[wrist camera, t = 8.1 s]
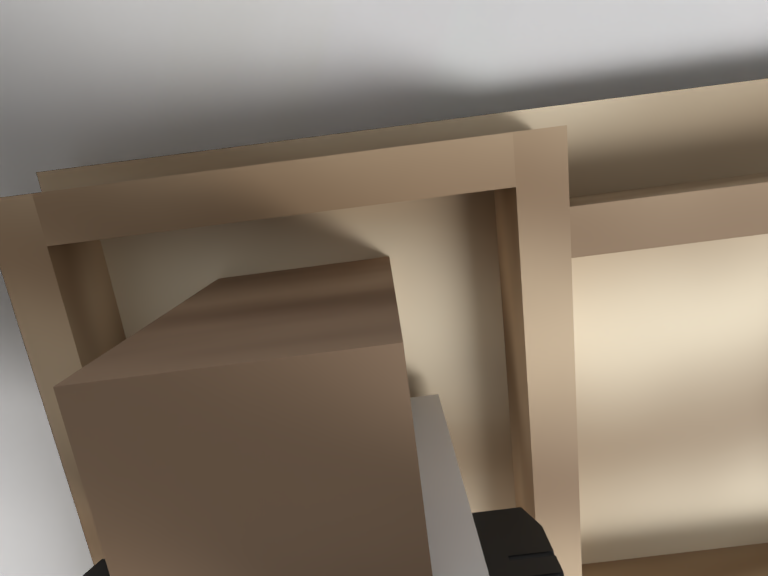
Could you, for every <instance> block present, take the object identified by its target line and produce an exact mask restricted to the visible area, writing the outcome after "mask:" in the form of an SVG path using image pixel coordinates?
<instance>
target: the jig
mask: <svg viewBox="0 0 768 576" xmlns="http://www.w3.org/2000/svg"><path fill="white" fill-rule="evenodd" d="M36 174H37V177H38V181H39V184H40V188H41V191H42V192H39V193H32V194H24V195H16V196H8V197H0V269H1V272H2V275H3V278H4V281H5V284H6V288H7V291H8V294H9V297H10V300H11V303H12V307H13V310H14V313H15V316H16V319H17V322H18V326H19V329H20V332H21V335H22V338H23V342H24V345H25V348H26V351H27V354H28V357H29V361H30V364H31V367H32V370H33V373H34V376H35V380H36V383H37V386H38V389H39V392H40V395H41V399H42V402H43V405H44V408H45V411H46V414H47V418H48V421H49V424H50V427H51V430H52V433H53V437H54V440H55V443H56V446H57V449H58V453H59V456H60V459H61V462H62V465H63V468H64V472H65V475H66V478H67V481H68V484H69V487H70V491H71V494H72V497H73V500H74V503H75V506H76V510H77V513H78V516H79V519H80V522H81V525H82V529H83V532H84V535H85V538H86V541H87V544H88V548H89V551H90V554H91V557H92V560H93V564H94V565H96V564H97V563H98V562H99V561H100V560H101V559H105V557H104V554H103V551H102V548H101V544H100V541H99V538H98V534H97V531H96V528H95V524H94V521H93V518H92V514H91V511H90V508H89V505H88V501H87V498H86V495H85V491H84V488H83V485H82V481H81V478H80V475H79V471H78V468H77V465H76V462H75V458H74V455H73V452H72V448H71V445H70V442H69V438H68V435H67V432H66V429H65V425H64V422H63V419H62V415H61V412H60V409H59V405H58V402H57V399H56V395H55V392H54V389H53V387H54V386H55V385H57V384H58V383H60V382H61V381H63V380H64V379H66V378H67V377H69V376H70V375H72V374H73V373H75V372H76V371H78V370H80V369H81V368H83V367H84V366H86V365H87V364H89V363H90V362H92V361H93V360H95V359H96V358H98V357H99V356H101V355H102V354H104V353H106V352H107V351H109V350H110V349H112V348H113V347H115V346H116V345H118V344H119V343H121V342H122V341H124V340H125V339H127V338H128V337H130V336H132V335H133V334H135V333H136V332H138V331H139V330H141V329H142V328H144V327H145V326H147V325H148V324H150V323H151V322H153V321H154V320H156V319H158V318H159V317H161V316H162V315H164V314H165V313H167V312H168V311H170V310H171V309H173V308H174V307H176V306H177V305H179V304H180V303H182V302H183V301H185V300H187V299H188V298H190V297H191V296H193V295H194V294H196V293H197V292H199V291H200V290H202V289H203V288H205V287H206V286H208V285H209V284H211V283H213V282H214V281H216V280H217V279H219V278H226V277H234V276H242V275H249V274H257V273H265V272H272V271H280V270H288V269H296V268H303V267H311V266H319V265H327V264H334V263H342V262H350V261H357V260H365V259H373V258H381V257H388V256H389V258H390V264H391V270H392V276H393V282H394V288H395V295H396V301H397V307H398V313H399V319H400V325H401V332H402V338H403V344H404V352H405V360H406V368H407V376H408V384H409V392H410V397H418V396H427V395H435V394H438V395H439V398H440V402H441V405H442V409H443V413H444V416H445V420H446V423H447V427H448V430H449V434H450V437H451V441H452V445H453V448H454V452H455V455H456V459H457V462H458V466H459V469H460V473H461V477H462V480H463V484H464V487H465V491H466V494H467V498H468V501H469V505H470V509H471V512H472V513H475V512H483V511H492V510H500V509H509V508H517V507H522V508H523V509H524V510H525V511H526V512H527V513H528V514H529V515H530V516H531V517H533V518H534V519H535V520H536V521H537V522H538V523H539V524H540V525H541V526H542V527H543V529H544V531H545V533H546V536H547V538H548V540H549V542H550V544H551V546H552V548H553V551H554V555H555V556H556V557H557V559H558V561H559V563H560V565H561V568H562V570H563V572H564V576H768V78H767V79H759V80H752V81H744V82H736V83H728V84H720V85H713V86H705V87H697V88H689V89H681V90H674V91H666V92H658V93H650V94H643V95H635V96H627V97H619V98H611V99H604V100H596V101H588V102H580V103H572V104H565V105H557V106H549V107H541V108H533V109H526V110H518V111H510V112H502V113H495V114H487V115H479V116H471V117H463V118H456V119H448V120H440V121H432V122H424V123H417V124H409V125H401V126H393V127H386V128H378V129H370V130H362V131H354V132H347V133H339V134H331V135H323V136H315V137H308V138H300V139H292V140H284V141H277V142H269V143H261V144H253V145H245V146H238V147H230V148H222V149H214V150H206V151H199V152H191V153H183V154H175V155H167V156H160V157H152V158H144V159H136V160H129V161H121V162H113V163H105V164H97V165H90V166H82V167H74V168H66V169H58V170H51V171H43V172H36Z"/></svg>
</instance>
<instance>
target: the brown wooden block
mask: <svg viewBox="0 0 768 576" xmlns="http://www.w3.org/2000/svg"><path fill="white" fill-rule="evenodd" d="M53 389H54V392H55V395H56V399H57V402H58V405H59V409H60V412H61V415H62V419H63V422H64V425H65V429H66V432H67V435H68V438H69V442H70V445H71V448H72V452H73V455H74V458H75V462H76V465H77V468H78V471H79V475H80V478H81V481H82V485H83V488H84V491H85V495H86V498H87V501H88V505H89V508H90V511H91V514H92V518H93V521H94V524H95V528H96V531H97V534H98V538H99V541H100V544H101V548H102V551H103V554H104V557H105V561H106V564H107V567H108V571H109V574H110V576H433V575H432V567H431V559H430V551H429V543H428V535H427V527H426V519H425V511H424V503H423V495H422V487H421V479H420V472H419V464H418V456H417V448H416V440H415V432H414V424H413V416H412V408H411V400H410V392H409V384H408V376H407V368H406V360H405V352H404V344H403V338H402V332H401V325H400V319H399V313H398V307H397V301H396V295H395V288H394V282H393V276H392V270H391V264H390V258H389V256H388V257H381V258H373V259H365V260H357V261H350V262H342V263H334V264H327V265H319V266H311V267H303V268H296V269H288V270H280V271H272V272H265V273H257V274H249V275H242V276H234V277H226V278H219V279H217V280H216V281H214V282H213V283H211V284H209V285H208V286H206V287H205V288H203V289H202V290H200V291H199V292H197V293H196V294H194V295H193V296H191V297H190V298H188V299H187V300H185V301H183V302H182V303H180V304H179V305H177V306H176V307H174V308H173V309H171V310H170V311H168V312H167V313H165V314H164V315H162V316H161V317H159V318H158V319H156V320H154V321H153V322H151V323H150V324H148V325H147V326H145V327H144V328H142V329H141V330H139V331H138V332H136V333H135V334H133V335H132V336H130V337H128V338H127V339H125V340H124V341H122V342H121V343H119V344H118V345H116V346H115V347H113V348H112V349H110V350H109V351H107V352H106V353H104V354H102V355H101V356H99V357H98V358H96V359H95V360H93V361H92V362H90V363H89V364H87V365H86V366H84V367H83V368H81V369H80V370H78V371H76V372H75V373H73V374H72V375H70V376H69V377H67V378H66V379H64V380H63V381H61V382H60V383H58V384H57V385H55V386H54V387H53Z"/></svg>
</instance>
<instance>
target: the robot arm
mask: <svg viewBox="0 0 768 576" xmlns="http://www.w3.org/2000/svg"><path fill="white" fill-rule="evenodd" d="M410 400H411V408H412V416H413V424H414V432H415V440H416V448H417V456H418V464H419V472H420V479H421V487H422V495H423V503H424V511H425V519H426V527H427V535H428V543H429V551H430V559H431V567H432V575H433V576H564V572H563V570H562V568H561V565H560V563H559V561H558V559H557V557H556V556H555V555H554V551H553V548H552V546H551V544H550V542H549V540H548V538H547V536H546V533H545V531H544V529H543V527H542V526H541V525H540V524H539V523H538V522H537V521H536V520H535V519H534V518H533V517H531V516H530V515H529V514H528V513H527V512H526V511H525V510H524V509H523V508H522V507H517V508H509V509H500V510H492V511H483V512H475V513H472V512H471V509H470V505H469V501H468V498H467V494H466V491H465V487H464V484H463V480H462V477H461V473H460V469H459V466H458V462H457V459H456V455H455V452H454V448H453V445H452V441H451V437H450V434H449V430H448V427H447V423H446V420H445V416H444V413H443V409H442V405H441V402H440V398H439V395H438V394H435V395H427V396H418V397H410ZM83 576H110V574H109V571H108V567H107V564H106V561H105V559H101V560H100V561H99V562H98V563H97V564H96V565H94V566H93V567H92V568H91V569H90V570H89V571H88V572H86V573H85V574H84V575H83Z"/></svg>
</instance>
